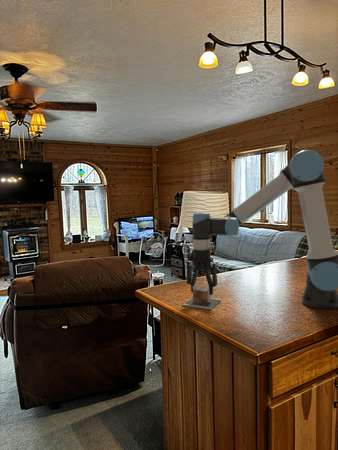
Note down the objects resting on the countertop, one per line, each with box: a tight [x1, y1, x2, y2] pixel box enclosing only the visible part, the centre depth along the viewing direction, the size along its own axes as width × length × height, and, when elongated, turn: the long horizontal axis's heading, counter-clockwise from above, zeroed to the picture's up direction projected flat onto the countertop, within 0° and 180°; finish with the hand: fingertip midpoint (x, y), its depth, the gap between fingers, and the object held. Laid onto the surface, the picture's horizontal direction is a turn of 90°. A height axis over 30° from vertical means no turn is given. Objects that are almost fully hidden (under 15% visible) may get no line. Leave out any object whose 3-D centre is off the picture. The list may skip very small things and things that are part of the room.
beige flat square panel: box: [215, 306, 229, 311], centre depth 143 cm, size 9×9×1 cm
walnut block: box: [192, 285, 209, 305], centre depth 147 cm, size 6×6×6 cm
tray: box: [182, 297, 222, 311], centre depth 148 cm, size 13×13×1 cm
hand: (202, 300), depth 148 cm, fingers closed on walnut block, 6 cm apart
